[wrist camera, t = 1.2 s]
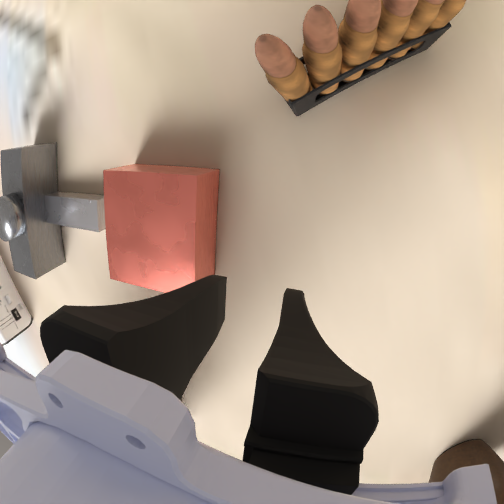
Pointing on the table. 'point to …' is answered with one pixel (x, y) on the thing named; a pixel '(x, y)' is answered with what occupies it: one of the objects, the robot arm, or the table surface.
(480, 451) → the plant pot
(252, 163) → the table surface
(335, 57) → the ammunition clip
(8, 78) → the table surface
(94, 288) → the table surface
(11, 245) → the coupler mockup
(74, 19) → the table surface
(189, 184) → the red block
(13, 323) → the laminator
